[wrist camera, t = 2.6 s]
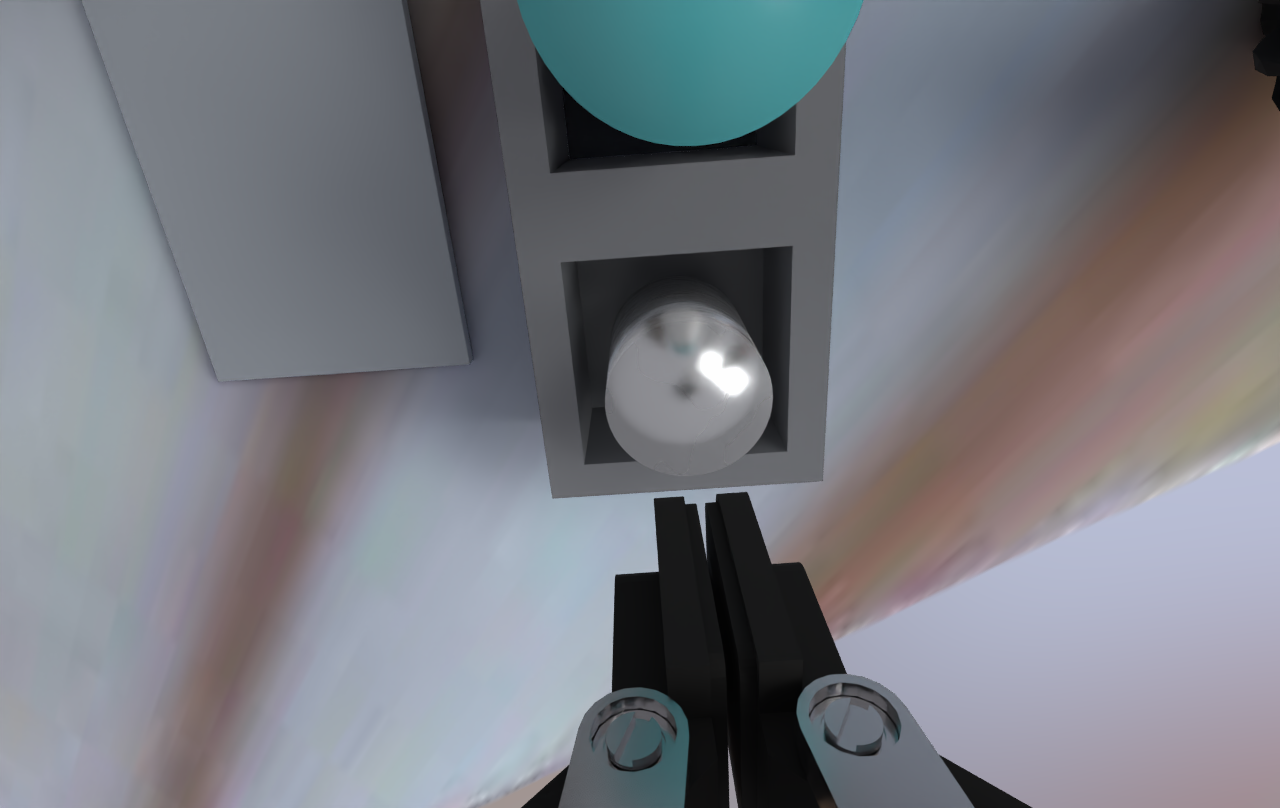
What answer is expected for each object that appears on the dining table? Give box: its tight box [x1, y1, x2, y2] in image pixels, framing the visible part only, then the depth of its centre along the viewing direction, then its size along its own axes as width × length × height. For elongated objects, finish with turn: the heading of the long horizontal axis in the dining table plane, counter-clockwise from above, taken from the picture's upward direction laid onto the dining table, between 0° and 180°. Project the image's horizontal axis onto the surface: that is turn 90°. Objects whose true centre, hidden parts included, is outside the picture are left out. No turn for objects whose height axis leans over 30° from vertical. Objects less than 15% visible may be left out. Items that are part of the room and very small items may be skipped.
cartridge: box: [517, 0, 863, 146], centre depth 15 cm, size 5×5×14 cm
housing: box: [480, 0, 846, 498], centre depth 21 cm, size 18×9×6 cm, turn 4°
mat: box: [81, 0, 473, 382], centre depth 23 cm, size 14×10×1 cm
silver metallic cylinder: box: [605, 276, 773, 476], centre depth 19 cm, size 4×4×5 cm
